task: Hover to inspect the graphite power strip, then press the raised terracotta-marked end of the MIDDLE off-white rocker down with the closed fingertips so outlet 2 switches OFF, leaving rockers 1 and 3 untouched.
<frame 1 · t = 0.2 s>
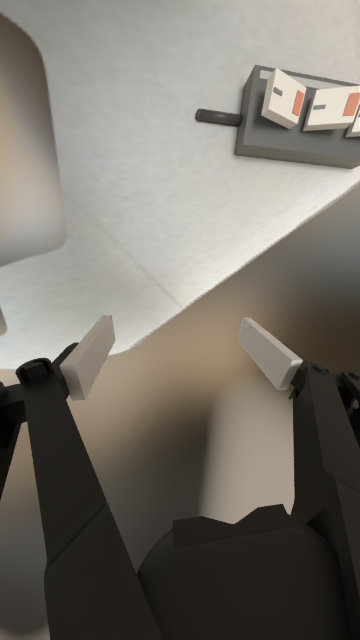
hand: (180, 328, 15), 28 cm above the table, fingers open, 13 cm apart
power strip: (304, 132, 31), on the table
rocker 1: (284, 101, 25), point 6 cm above the table, hinge at -16.0°
rocker 2: (332, 109, 26), point 6 cm above the table, hinge at 16.0°
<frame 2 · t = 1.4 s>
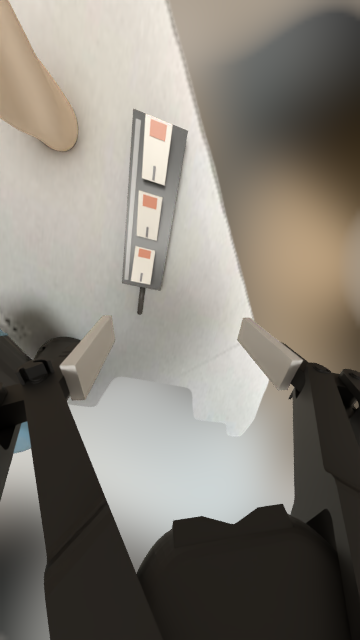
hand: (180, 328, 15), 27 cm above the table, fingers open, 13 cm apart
rocker 3: (156, 154, 25), point 6 cm above the table, hinge at 16.0°
power strip: (150, 221, 33), on the table
rocker 1: (143, 266, 32), point 6 cm above the table, hinge at -16.0°
water bottle: (55, 127, 26), on the table
rocker 2: (148, 217, 28), point 6 cm above the table, hinge at 16.0°
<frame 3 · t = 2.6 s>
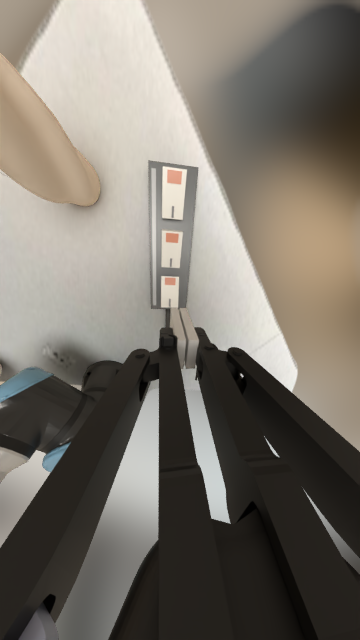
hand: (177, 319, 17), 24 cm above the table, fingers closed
rocker 3: (173, 195, 27), point 6 cm above the table, hinge at 16.0°
power strip: (170, 249, 36), on the table
rocker 1: (169, 292, 35), point 6 cm above the table, hinge at -16.0°
water bottle: (81, 187, 30), on the table
rocker 2: (171, 249, 31), point 6 cm above the table, hinge at 16.0°
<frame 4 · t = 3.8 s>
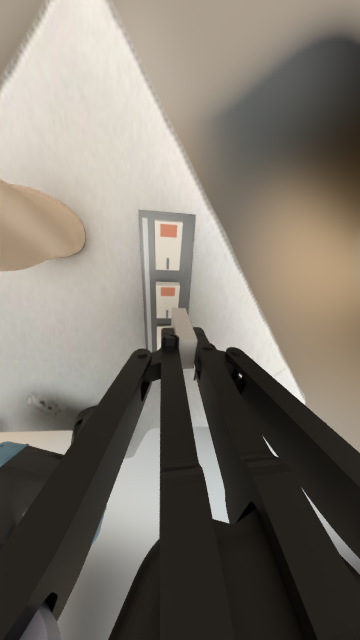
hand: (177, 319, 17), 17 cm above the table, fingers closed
rocker 3: (168, 247, 24), point 6 cm above the table, hinge at 16.0°
power strip: (166, 293, 33), on the table
rocker 1: (166, 342, 31), point 6 cm above the table, hinge at -16.0°
water bottle: (63, 235, 26), on the table
rocker 2: (167, 301, 28), point 6 cm above the table, hinge at 16.0°
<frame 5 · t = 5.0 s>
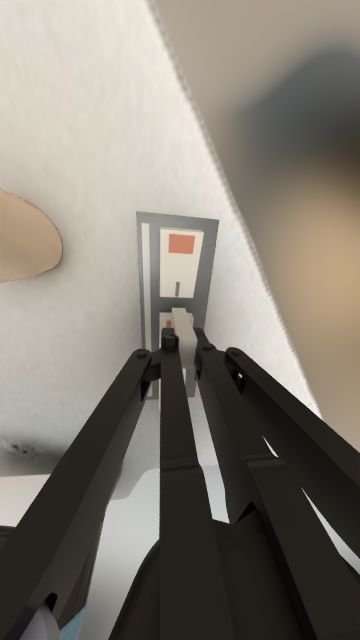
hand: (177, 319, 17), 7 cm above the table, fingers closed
rocker 3: (178, 266, 16), point 6 cm above the table, hinge at 16.0°
power strip: (171, 320, 25), on the table
rocker 1: (171, 387, 24), point 6 cm above the table, hinge at -16.0°
water bottle: (31, 245, 19), on the table
rocker 2: (174, 338, 20), point 6 cm above the table, hinge at 11.4°, touching gripper
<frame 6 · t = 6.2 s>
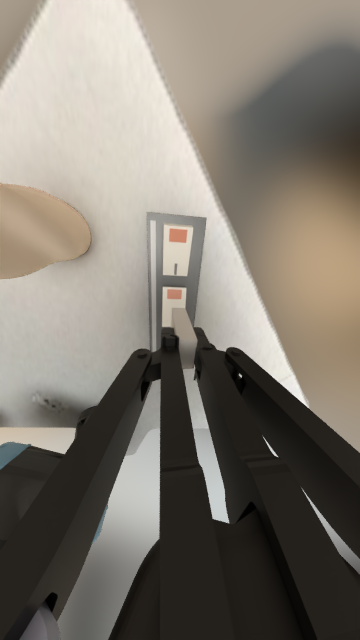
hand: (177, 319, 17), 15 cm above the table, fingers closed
rocker 3: (176, 252, 23), point 6 cm above the table, hinge at 16.0°
power strip: (172, 297, 32), on the table
water bottle: (68, 236, 25), on the table
rocker 2: (173, 307, 27), point 6 cm above the table, hinge at -8.8°
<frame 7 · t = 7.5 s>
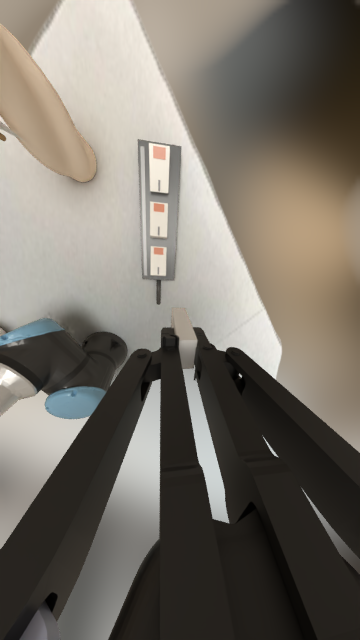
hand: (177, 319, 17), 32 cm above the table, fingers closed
rocker 3: (159, 170, 32), point 6 cm above the table, hinge at 16.0°
power strip: (159, 224, 40), on the table
rocker 1: (158, 261, 39), point 6 cm above the table, hinge at -16.0°
water bottle: (79, 164, 34), on the table
rocker 2: (158, 220, 35), point 6 cm above the table, hinge at -13.3°
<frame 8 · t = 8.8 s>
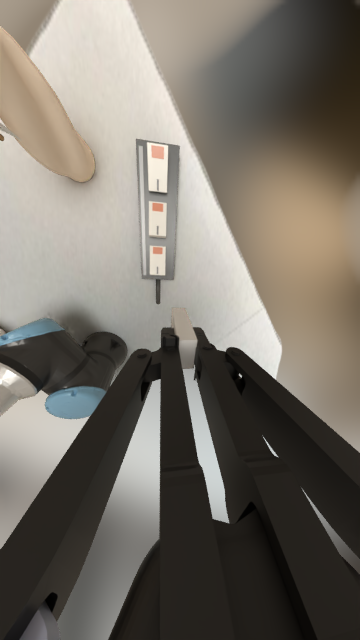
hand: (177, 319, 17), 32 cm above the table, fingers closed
rocker 3: (157, 169, 32), point 6 cm above the table, hinge at 16.0°
power strip: (158, 223, 40), on the table
rocker 1: (157, 261, 39), point 6 cm above the table, hinge at -16.0°
water bottle: (78, 164, 34), on the table
rocker 2: (157, 220, 35), point 6 cm above the table, hinge at -14.7°
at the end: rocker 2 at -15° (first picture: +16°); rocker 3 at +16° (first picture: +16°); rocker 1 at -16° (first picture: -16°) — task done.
